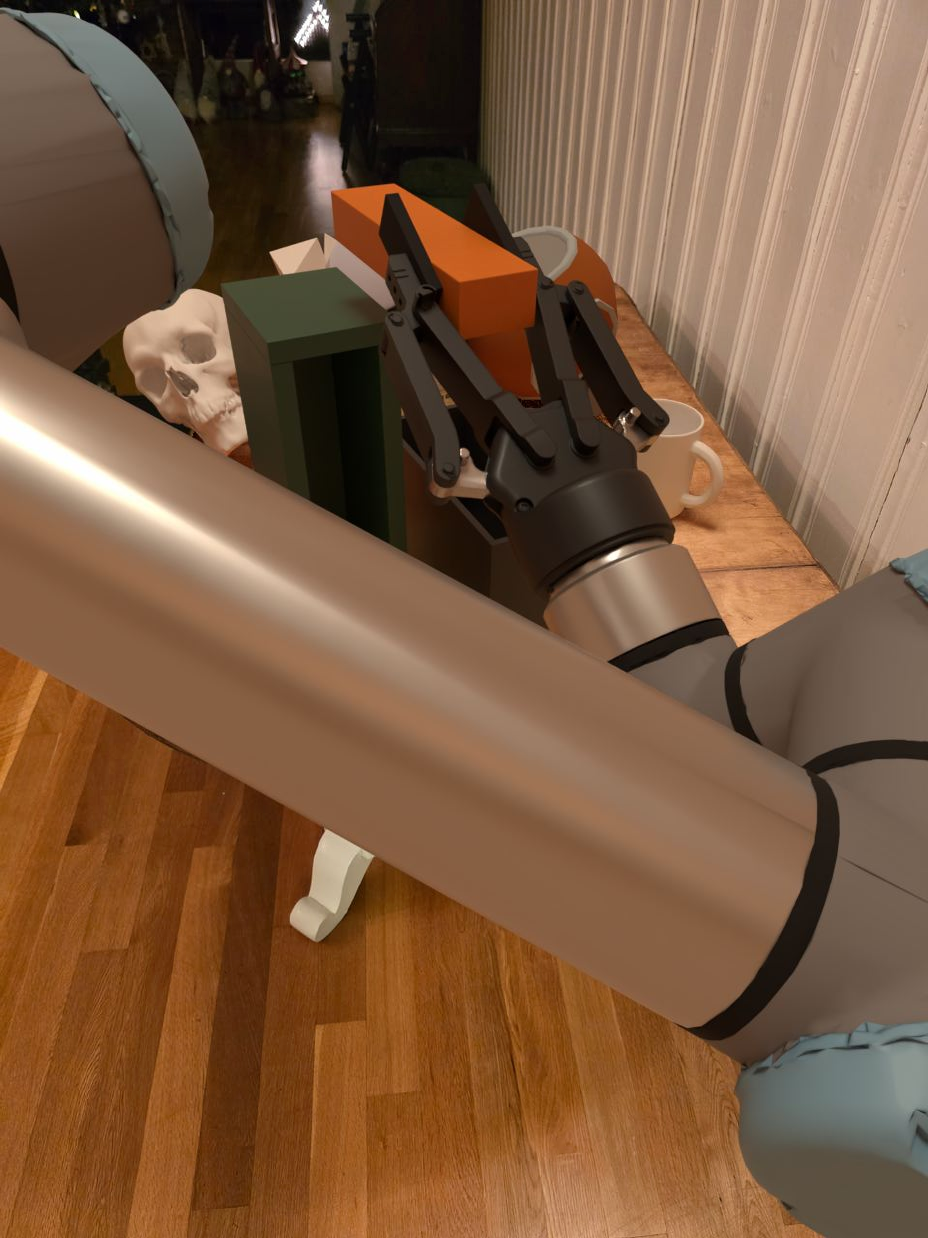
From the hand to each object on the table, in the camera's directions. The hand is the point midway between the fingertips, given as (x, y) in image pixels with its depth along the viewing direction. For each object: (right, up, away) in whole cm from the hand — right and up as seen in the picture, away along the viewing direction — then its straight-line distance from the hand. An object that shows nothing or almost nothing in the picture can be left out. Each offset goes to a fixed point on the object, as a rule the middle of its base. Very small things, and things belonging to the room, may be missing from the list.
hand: (431, 209), depth 46 cm
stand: (-10, -22, +30) cm, 38 cm away
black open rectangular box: (+3, -19, +33) cm, 38 cm away
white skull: (-22, -4, +51) cm, 55 cm away
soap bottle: (-8, +15, +44) cm, 47 cm away
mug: (+23, -11, +43) cm, 50 cm away
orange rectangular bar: (-1, -2, +4) cm, 4 cm away
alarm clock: (+15, +8, +49) cm, 51 cm away
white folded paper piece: (-19, +20, +79) cm, 83 cm away
